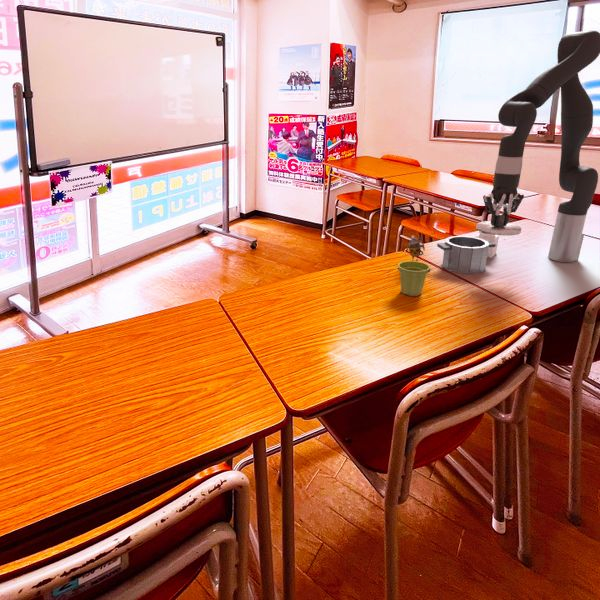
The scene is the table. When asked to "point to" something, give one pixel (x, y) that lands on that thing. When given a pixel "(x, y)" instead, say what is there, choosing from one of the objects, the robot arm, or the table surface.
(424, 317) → the table surface
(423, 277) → the plant pot
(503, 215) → the lid
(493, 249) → the medicine bottle
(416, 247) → the robot figurine
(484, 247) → the pot
